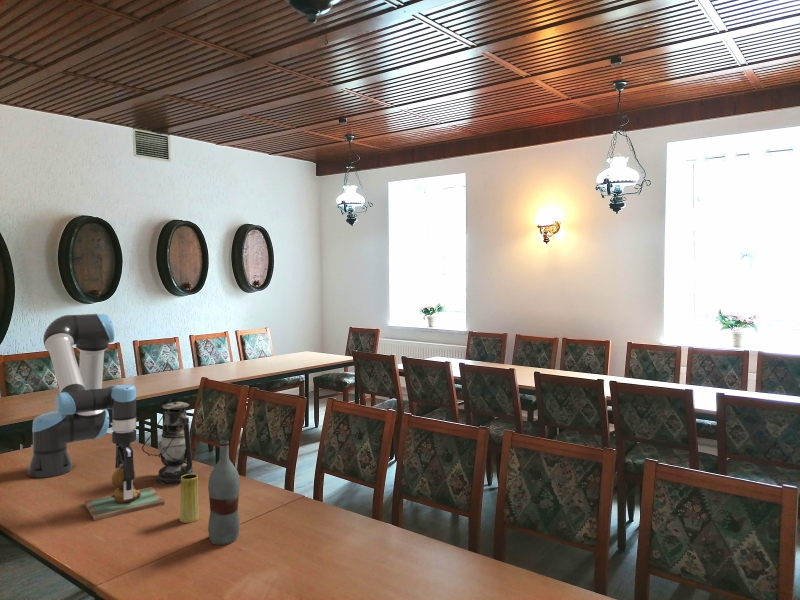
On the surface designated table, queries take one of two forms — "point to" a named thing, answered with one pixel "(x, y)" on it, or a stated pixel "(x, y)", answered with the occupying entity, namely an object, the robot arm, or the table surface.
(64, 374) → the robot arm
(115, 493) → the figurine
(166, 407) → the lantern
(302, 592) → the table surface
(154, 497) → the green framed board
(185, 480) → the vase
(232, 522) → the bottle
